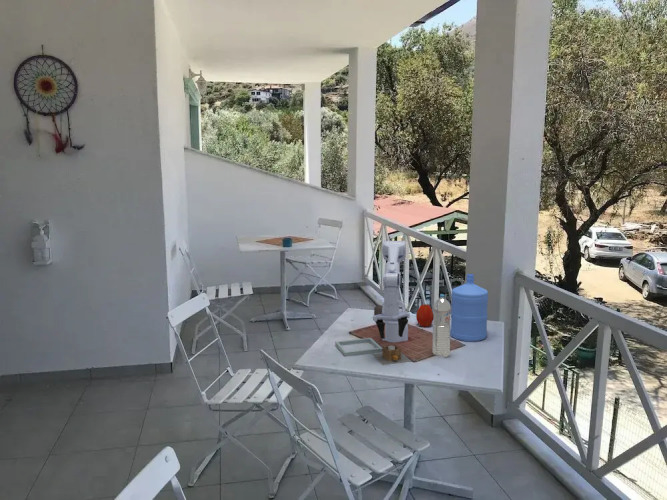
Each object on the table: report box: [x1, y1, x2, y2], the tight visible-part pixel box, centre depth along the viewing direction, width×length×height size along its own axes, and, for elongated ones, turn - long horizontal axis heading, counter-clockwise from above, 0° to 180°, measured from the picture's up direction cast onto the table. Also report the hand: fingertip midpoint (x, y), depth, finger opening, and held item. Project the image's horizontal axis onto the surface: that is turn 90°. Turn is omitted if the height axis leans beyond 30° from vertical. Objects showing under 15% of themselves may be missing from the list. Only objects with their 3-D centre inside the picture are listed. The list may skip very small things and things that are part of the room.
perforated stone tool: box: [373, 304, 383, 315], centre depth 263 cm, size 15×5×7 cm, turn 59°
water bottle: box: [432, 293, 452, 358], centre depth 214 cm, size 7×7×25 cm
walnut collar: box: [381, 344, 402, 361], centre depth 210 cm, size 6×8×4 cm
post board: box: [371, 345, 413, 366], centre depth 211 cm, size 12×12×6 cm
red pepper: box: [415, 303, 434, 328], centre depth 254 cm, size 8×8×11 cm
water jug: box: [450, 273, 489, 342], centre depth 236 cm, size 16×16×28 cm
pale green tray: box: [334, 337, 382, 358], centre depth 222 cm, size 16×14×2 cm
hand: (391, 337), depth 210 cm, fingers open, 7 cm apart
